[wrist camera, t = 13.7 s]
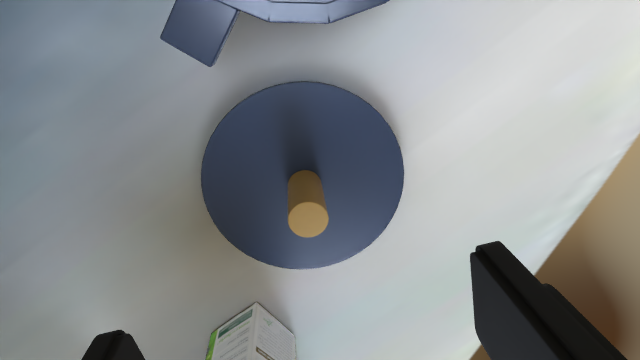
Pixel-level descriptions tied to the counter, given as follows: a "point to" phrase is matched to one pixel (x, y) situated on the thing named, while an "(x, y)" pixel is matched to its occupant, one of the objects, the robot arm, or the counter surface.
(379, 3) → the pot
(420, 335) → the counter surface
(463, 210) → the counter surface
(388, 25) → the counter surface
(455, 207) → the counter surface
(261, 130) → the lid
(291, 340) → the syrup box
